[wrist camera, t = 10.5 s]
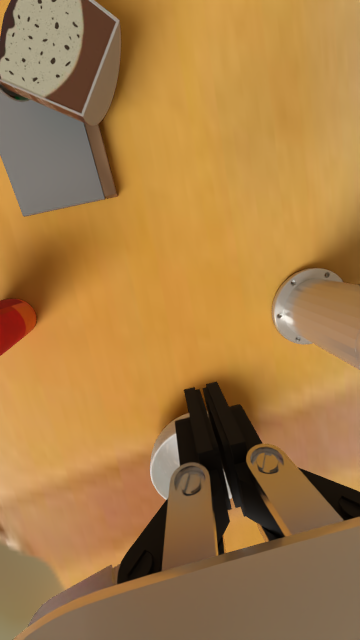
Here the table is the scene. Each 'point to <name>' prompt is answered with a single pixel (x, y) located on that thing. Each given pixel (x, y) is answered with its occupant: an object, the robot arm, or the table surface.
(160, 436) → the cereal bowl
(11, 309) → the paper cup
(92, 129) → the rail
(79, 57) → the food container
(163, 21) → the table surface
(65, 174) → the mat
